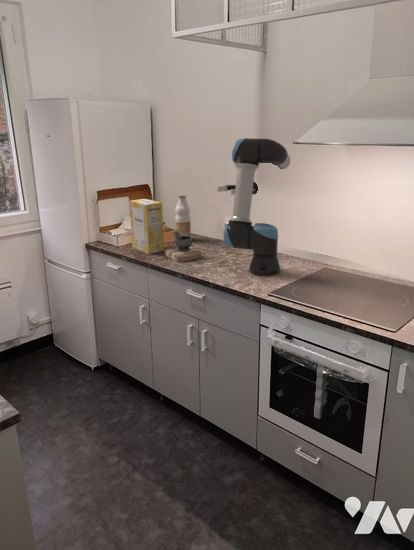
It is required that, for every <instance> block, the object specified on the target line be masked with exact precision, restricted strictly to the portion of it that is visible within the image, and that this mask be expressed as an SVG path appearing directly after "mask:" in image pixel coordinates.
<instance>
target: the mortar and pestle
mask: <svg viewBox="0 0 414 550" xmlns="http://www.w3.org/2000/svg"><path fill="white" fill-rule="evenodd" d="M173 234H174V235H175V237H174V243H175V245H176V247H179V248H178V250H179V251H181V252H186V251H189V250H190V249H189V247H192V245H193V240H194V239H193V237H192V236H191V237H189V236H180V234H179V233H178V230H176V229H174V230H173Z"/></svg>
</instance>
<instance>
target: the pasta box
mask: <svg viewBox="0 0 414 550" xmlns="http://www.w3.org/2000/svg"><path fill="white" fill-rule="evenodd" d="M128 203H129V216H130V218H129V219H130V231H131V248H133V249H135V250H138V251H140V252H142V253H145V254H147V255H151V254H155V253H160V252H165V246H164V245H165V243H164V239H165V238H164V216H163V202H161V201H156V200H152V199H148V198H141V199H139V198H138V199H133V200H129V202H128Z"/></svg>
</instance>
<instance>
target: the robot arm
mask: <svg viewBox="0 0 414 550" xmlns="http://www.w3.org/2000/svg"><path fill="white" fill-rule="evenodd" d="M231 150H232V151H231V156H232V157H231V160H232V162H233V163H234V166H235V168H236V169H237V170H236V171H237V173H236V181H235V184H231V185H230V184H225V185H223V186H216V192H218V193H219V192H228V191H229V192H230V193H229V194H230V195H233V196H234V199H233V208H232V216H231V218H230V219H229V220H228V223H226V224H225V225H224V227H223V231H222V232H223V233H222V235H223V241H224V244H225V245H226V247H228V248H233V249H242V250H252V251H253V252H252V253H253V256H252V258H251V262H250V264H249V269H248V271H249V273H251V274H253V275H256V276H264V277H265V276H274V275H278V274H280V272H281V267H280V263H279V259H278V241H279V239H278V238H279V232H278V231H279V230H278V228H277V227H276V226H274V225H273V224H271V223H265V222H261V223H260V222H257V223H254V224H253V222H252V220H251V219H250V216H251V208H252V199H253V195H257V194H256V193H257V191H258V186H257V184H256V183H255V182H254V181H255V172H256V171H257V170H258V169H259V167H260V164H263V163H272V164H274V165H277V166H278V167H279V168H280V169H286V168H287V167H288V166H289V164H290V158H291V157H290V156H289V153H288V150H287V149H286V147H285V146H283V144H281V143H280V142H278V141H276V140H273V139H270V138H248V137H246V138H239V139H237V140H236V141H235V142H234V144H233V147H232V149H231Z"/></svg>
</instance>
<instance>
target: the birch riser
mask: <svg viewBox="0 0 414 550" xmlns="http://www.w3.org/2000/svg"><path fill="white" fill-rule="evenodd" d="M178 248H179V247H178V246H176V247H172V248H164V256H165V257H167V258H169V259H171V260H172V261H174V262H177V263H179V262H183V261H184V262H185V261H191V260H195V259H201V258H202V251H201V250H199V249H196V248H195V247H192V246H190V247H189V249H190V250H189V251H186V252H181V251H179V250H178Z"/></svg>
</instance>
